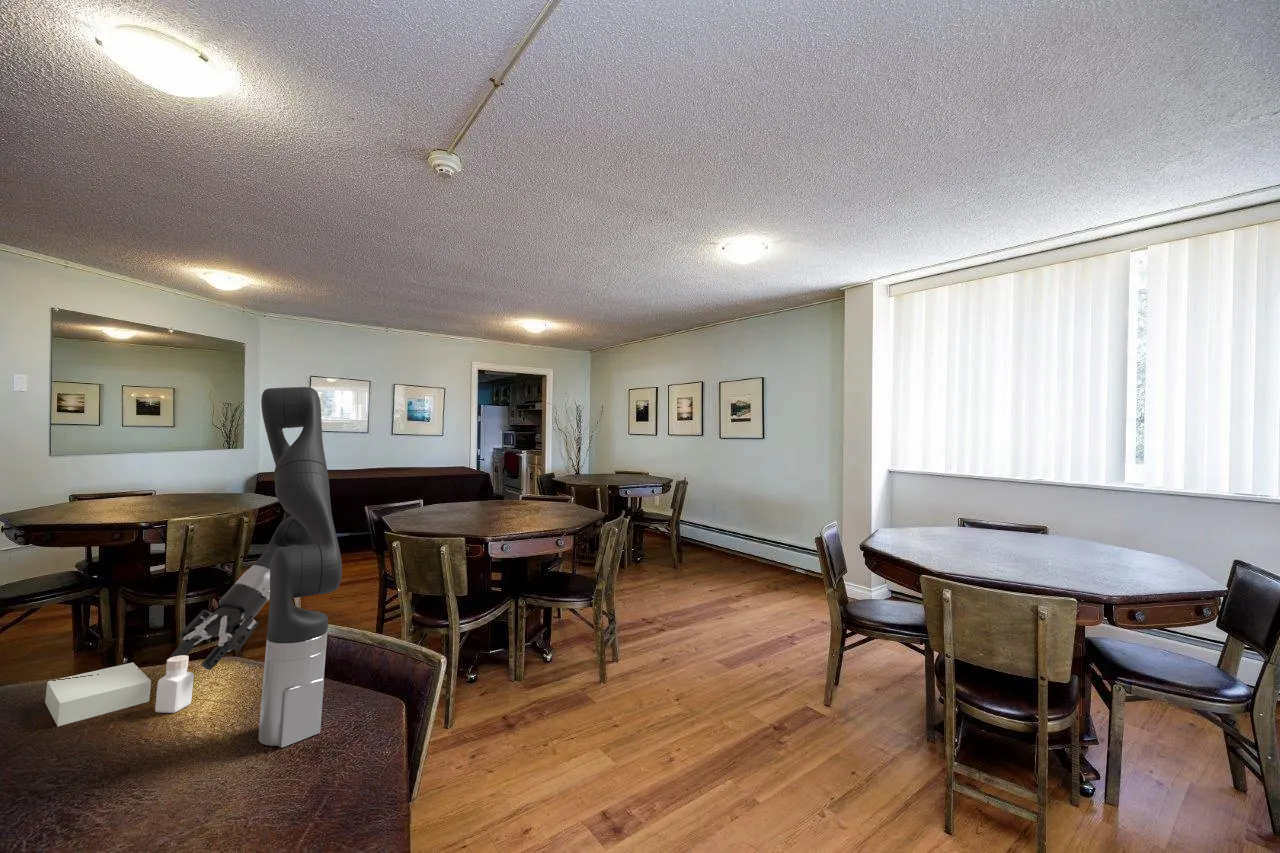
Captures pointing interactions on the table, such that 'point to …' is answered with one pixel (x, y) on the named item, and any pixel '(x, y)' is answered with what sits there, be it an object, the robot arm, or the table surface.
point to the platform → (96, 693)
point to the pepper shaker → (175, 686)
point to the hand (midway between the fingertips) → (189, 664)
